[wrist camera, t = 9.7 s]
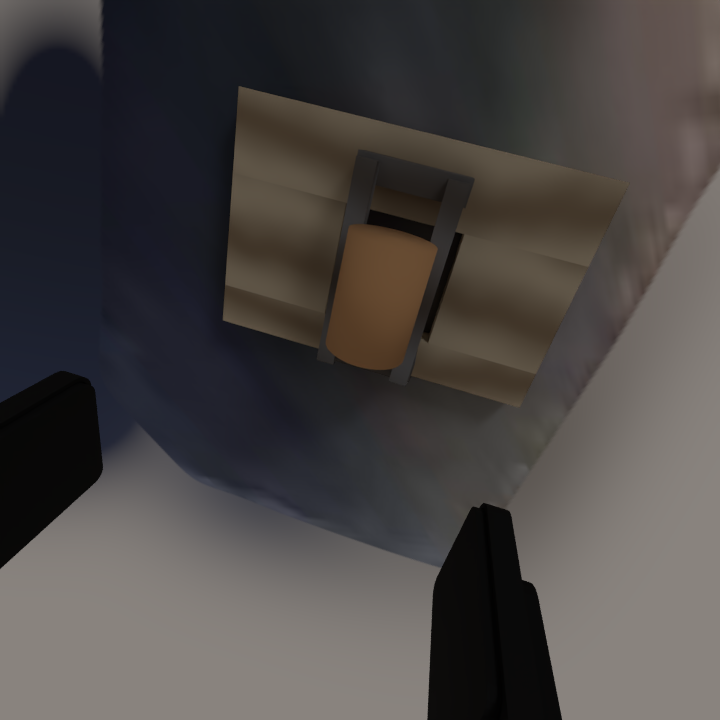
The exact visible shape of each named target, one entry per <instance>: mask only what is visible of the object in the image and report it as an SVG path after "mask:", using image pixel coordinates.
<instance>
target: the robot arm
mask: <svg viewBox="0 0 720 720" xmlns="http://www.w3.org/2000/svg"><path fill="white" fill-rule="evenodd" d="M101 454H102V453H101V444H100V434H99V425H98V416H97V405H96V395H95V389H94V388H93V387H92V386H91V383H90V381H89V380H88V379H87V378H85V377H82V376H79V375H75V374H72V373H69V372H66V371H59V372H57V373H54V374H53V375H51V376H49V377H47V378H45V379H43V380H42V381H40V382H38V383H36V384H34V385H32V386H31V387H29V388H27V389H25V390H23V391H21V392H19V393H18V394H16V395H14V396H12V397H10V398H8V399H7V400H5V401H3V402H1V403H0V569H1V568H2V567H3V566H4V565H5V564H6V563H7V562H8V561H9V560H10V559H11V558H13V557H14V556H15V555H16V554H17V553H18V552H19V551H20V550H21V549H23V548H24V547H25V546H26V545H27V544H28V543H29V542H30V541H31V540H33V539H34V538H35V537H36V536H37V535H38V534H39V533H40V532H41V531H42V530H44V528H46V527H47V526H48V525H49V524H50V523H51V522H52V521H53V520H54V519H56V518H57V517H58V516H59V515H60V514H61V513H62V512H63V511H64V510H65V509H67V508H68V507H69V506H70V505H71V504H72V503H73V502H74V501H75V500H76V499H78V498H79V497H80V496H81V495H82V494H83V493H84V492H85V491H86V490H88V489H89V488H90V487H91V486H92V485H93V484H94V483H95V482H96V481H97V480H98V479H99V477H100V475H101V473H102V470H103V463H102V455H101ZM428 697H429V698H428V719H427V720H562V717H561V712H560V707H559V702H558V697H557V692H556V686H555V681H554V676H553V671H552V666H551V661H550V656H549V650H548V646H547V640H546V635H545V630H544V625H543V620H542V615H541V610H540V604H539V599H538V595H537V592H536V589H535V587H534V586H533V584H532V583H529V582H527V581H524V580H522V578H521V572H520V566H519V560H518V554H517V548H516V542H515V536H514V529H513V524H512V517H511V514H510V512H509V511H508V510H505V509H502V508H499V507H495V506H492V505H489V504H486V503H483V504H482V505H481V506H480V508H477V507H472V508H471V510H470V512H469V514H468V516H467V518H466V520H465V522H464V524H463V526H462V528H461V530H460V532H459V534H458V536H457V538H456V540H455V542H454V544H453V546H452V548H451V550H450V552H449V554H448V556H447V558H446V560H445V562H444V564H443V566H442V568H441V570H440V572H439V574H438V576H437V578H436V581H435V585H434V590H433V605H432V629H431V650H430V673H429V696H428Z"/></svg>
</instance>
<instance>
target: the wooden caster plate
mask: <svg viewBox="0 0 720 720" xmlns="http://www.w3.org/2000/svg"><path fill="white" fill-rule="evenodd" d="M629 184H630V183H628V182H624V181H620V180H615V179H611V178H607V177H603V176H599V175H595V174H591V173H587V172H583V171H579V170H575V169H571V168H567V167H563V166H559V165H555V164H551V163H547V162H543V161H539V160H535V159H531V158H527V157H523V156H519V155H515V154H511V153H506V152H502V151H498V150H494V149H490V148H486V147H482V146H478V145H474V144H470V143H466V142H462V141H458V140H454V139H450V138H446V137H442V136H438V135H434V134H430V133H426V132H422V131H418V130H414V129H410V128H406V127H402V126H397V125H393V124H389V123H385V122H381V121H377V120H373V119H369V118H365V117H361V116H357V115H353V114H349V113H345V112H341V111H337V110H333V109H329V108H325V107H321V106H317V105H313V104H309V103H305V102H301V101H297V100H292V99H288V98H284V97H280V96H276V95H272V94H268V93H264V92H260V91H256V90H252V89H248V88H244V87H240V86H239V92H238V107H237V122H236V136H235V151H234V165H233V180H232V195H231V209H230V224H229V238H228V253H227V267H226V282H225V297H224V311H223V320H224V321H227V322H230V323H234V324H237V325H241V326H244V327H247V328H251V329H254V330H258V331H261V332H264V333H268V334H271V335H275V336H278V337H281V338H285V339H288V340H291V341H295V342H298V343H302V344H305V345H308V346H312V347H315V348H319V350H318V355H317V360H319V361H322V362H325V363H329V364H332V365H333V364H334V362H335V361H338V362H341V363H345V364H348V365H351V364H349V363H346V362H344V361H342V360H341V359H339V358H337V357H336V356H334V355H333V354H332V353H331V352H330V351H329V350H328V348H327V346H326V337H327V332H328V327H329V322H330V317H331V312H332V307H333V302H334V298H335V293H336V288H337V283H338V278H339V273H340V268H341V263H342V258H343V253H344V248H345V243H346V238H347V233H348V228H349V226H350V225H353V224H367V221H368V216H369V212H370V209H371V210H375V211H379V212H383V213H386V214H390V215H394V216H398V217H402V218H405V219H409V220H413V221H417V222H420V223H424V224H428V225H432V226H435V227H434V230H433V234H432V237H431V240H430V242H431V243H433V244H434V245H435V246H436V247H437V248H438V250H437V253H436V256H435V260H434V263H433V266H432V269H431V273H430V276H429V279H428V282H427V286H426V289H425V292H424V295H423V299H422V302H421V305H420V308H419V311H418V315H417V318H416V321H415V324H414V328H413V331H412V334H411V337H410V341H409V344H408V347H407V350H406V354H405V357H404V360H403V362H402V364H401V365H399V366H398V367H396V368H393V369H387V370H373V369H366V368H362V369H365V370H368V371H372V372H375V373H378V374H382V375H385V376H389V377H390V378H389V382H393V383H396V384H399V385H403V386H406V383H407V382H409V380H410V377H411V376H413V377H417V378H420V379H424V380H427V381H430V382H434V383H437V384H441V385H444V386H447V387H451V388H454V389H458V390H461V391H464V392H468V393H471V394H474V395H478V396H481V397H485V398H488V399H491V400H495V401H498V402H502V403H505V404H508V405H512V406H515V407H519V408H520V406H521V404H522V402H523V399H524V397H525V395H526V393H527V391H528V389H529V387H530V385H531V383H532V381H533V379H534V377H535V375H536V373H537V371H538V369H539V367H540V365H541V363H542V361H543V359H544V357H545V355H546V353H547V351H548V349H549V347H550V345H551V343H552V340H553V338H554V336H555V334H556V332H557V330H558V328H559V326H560V324H561V322H562V320H563V318H564V316H565V314H566V312H567V310H568V308H569V306H570V304H571V302H572V300H573V298H574V296H575V294H576V292H577V290H578V288H579V286H580V283H581V281H582V279H583V277H584V275H585V273H586V271H587V269H588V267H589V265H590V263H591V261H592V259H593V257H594V255H595V253H596V251H597V249H598V247H599V245H600V243H601V241H602V239H603V237H604V235H605V233H606V231H607V229H608V227H609V224H610V222H611V220H612V218H613V216H614V214H615V212H616V210H617V208H618V206H619V204H620V202H621V200H622V198H623V196H624V194H625V192H626V190H627V188H628V186H629ZM455 232H458V233H462V237H461V240H460V243H459V246H458V249H457V252H456V255H455V258H454V261H453V264H452V267H451V270H450V273H449V276H448V279H447V282H446V285H445V288H444V291H443V294H442V297H441V300H440V303H439V306H438V309H437V312H436V315H435V318H434V321H433V324H432V327H431V330H430V333H427V332H424V328H425V325H426V321H427V318H428V315H429V312H430V309H431V306H432V303H433V300H434V297H435V294H436V290H437V287H438V284H439V281H440V278H441V275H442V272H443V269H444V266H445V263H446V259H447V256H448V253H449V250H450V247H451V244H452V241H453V238H454V235H455ZM352 366H354V365H352ZM355 367H357V366H355ZM358 368H361V367H358Z"/></svg>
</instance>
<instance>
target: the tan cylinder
mask: <svg viewBox="0 0 720 720" xmlns="http://www.w3.org/2000/svg"><path fill="white" fill-rule="evenodd" d="M437 250H438V248H437V247H436V246H435V245H434V244H433V243H431V242H429V241H427V240H425V239H423V238H420V237H418V236H415V235H412V234H409V233H406V232H402V231H399V230H395V229H391V228H386V227H381V226H375V225H368V224H353V225H350V226H349V228H348V233H347V238H346V243H345V248H344V253H343V258H342V263H341V268H340V273H339V278H338V283H337V288H336V293H335V298H334V302H333V307H332V312H331V317H330V322H329V327H328V332H327V337H326V346H327V348H328V350H329V351H330V352H331V353H332V354H333V355H334V356H336V357H337V358H339V359H341V360H342V361H344V362H346V363H349V364H351V365H354V366H357V367H361V368H366V369H373V370H387V369H393V368H396V367H398V366H399V365H401V364H402V362H403V360H404V357H405V354H406V350H407V347H408V344H409V341H410V337H411V334H412V331H413V328H414V324H415V321H416V318H417V315H418V311H419V308H420V305H421V302H422V299H423V295H424V292H425V289H426V286H427V282H428V279H429V276H430V273H431V269H432V266H433V263H434V260H435V256H436V253H437Z"/></svg>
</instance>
